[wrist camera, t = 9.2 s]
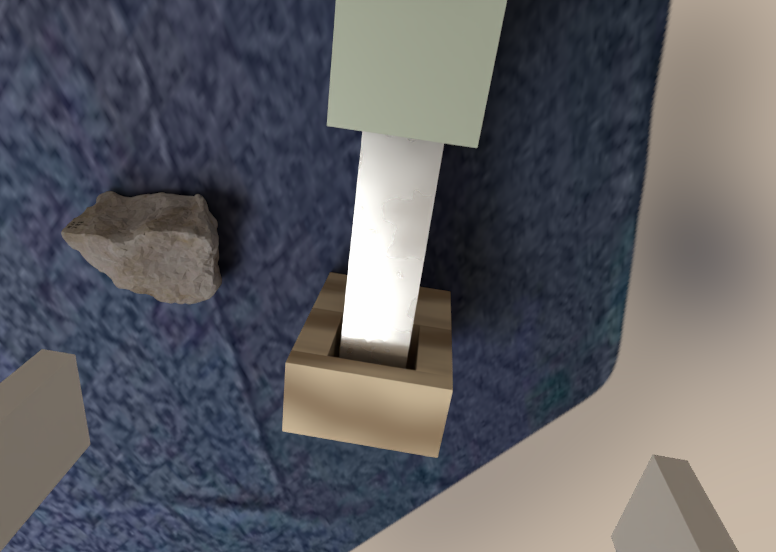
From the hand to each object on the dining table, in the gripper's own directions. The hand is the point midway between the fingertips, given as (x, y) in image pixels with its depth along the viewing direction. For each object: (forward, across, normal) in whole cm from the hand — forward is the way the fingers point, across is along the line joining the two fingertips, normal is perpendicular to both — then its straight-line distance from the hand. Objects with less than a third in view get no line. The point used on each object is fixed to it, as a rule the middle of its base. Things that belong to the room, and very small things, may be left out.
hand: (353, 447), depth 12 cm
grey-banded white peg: (+19, 0, -2) cm, 19 cm away
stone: (+25, -17, -7) cm, 31 cm away
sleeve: (+25, 0, +9) cm, 27 cm away
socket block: (+25, 0, -11) cm, 27 cm away
